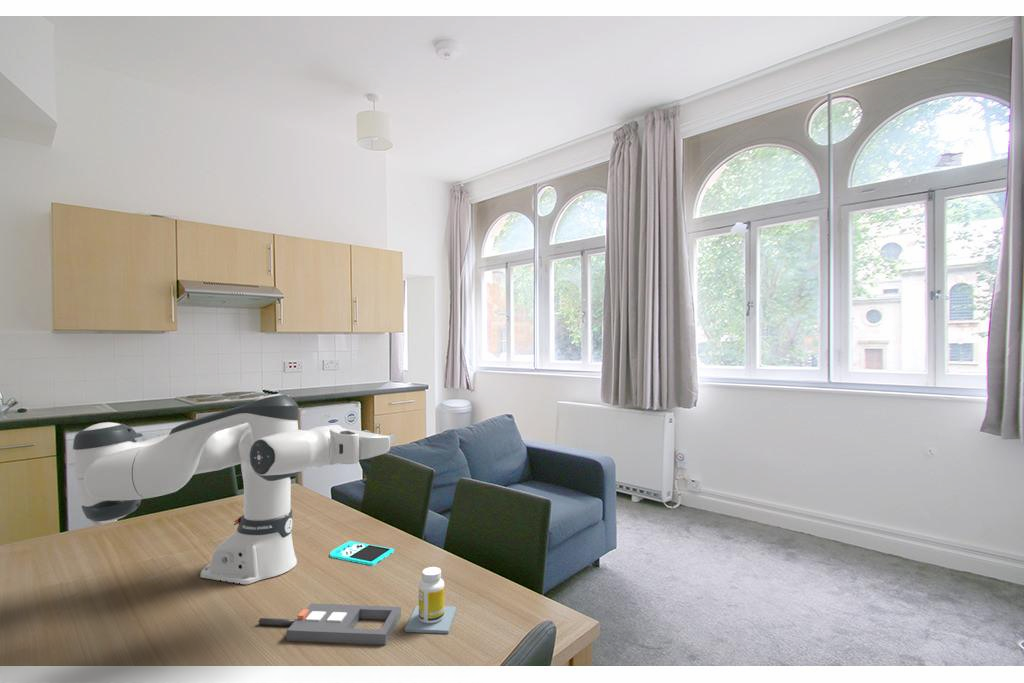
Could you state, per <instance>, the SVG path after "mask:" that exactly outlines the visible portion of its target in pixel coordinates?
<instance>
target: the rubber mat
mask: <svg viewBox="0 0 1024 683" xmlns="http://www.w3.org/2000/svg"><path fill="white" fill-rule="evenodd" d="M456 609H457V606H449V605H447V606H446V605H444V617H443V619H442V620H440V621H439V622H436V623H424V622H422V621H420V619H419V604H418V605H415V608H414V609H413V611H412V613H411V616H410V618H409V620H408V621H407V623H406V626H405V627H404V632H406V633H425V634H427V633H428V634H429V633H430V634H447V633H448V634H449V633H450V629H451V628H452V627H451V626H452V625H453V622H454V619H453V618H455V616H456V613H455V612H457V610H458V609H457V610H456ZM454 615H455V616H454ZM452 621H453V622H452ZM451 624H452V625H451ZM450 627H451V628H450Z"/></svg>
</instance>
